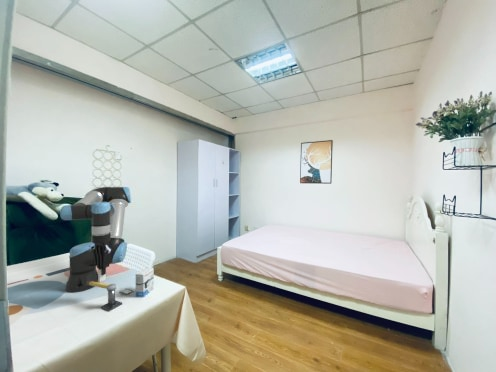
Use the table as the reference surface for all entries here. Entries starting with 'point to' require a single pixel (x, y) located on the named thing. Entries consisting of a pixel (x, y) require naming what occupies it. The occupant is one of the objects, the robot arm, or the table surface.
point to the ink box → (144, 281)
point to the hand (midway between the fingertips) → (102, 280)
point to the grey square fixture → (111, 302)
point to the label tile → (126, 292)
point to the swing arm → (101, 285)
